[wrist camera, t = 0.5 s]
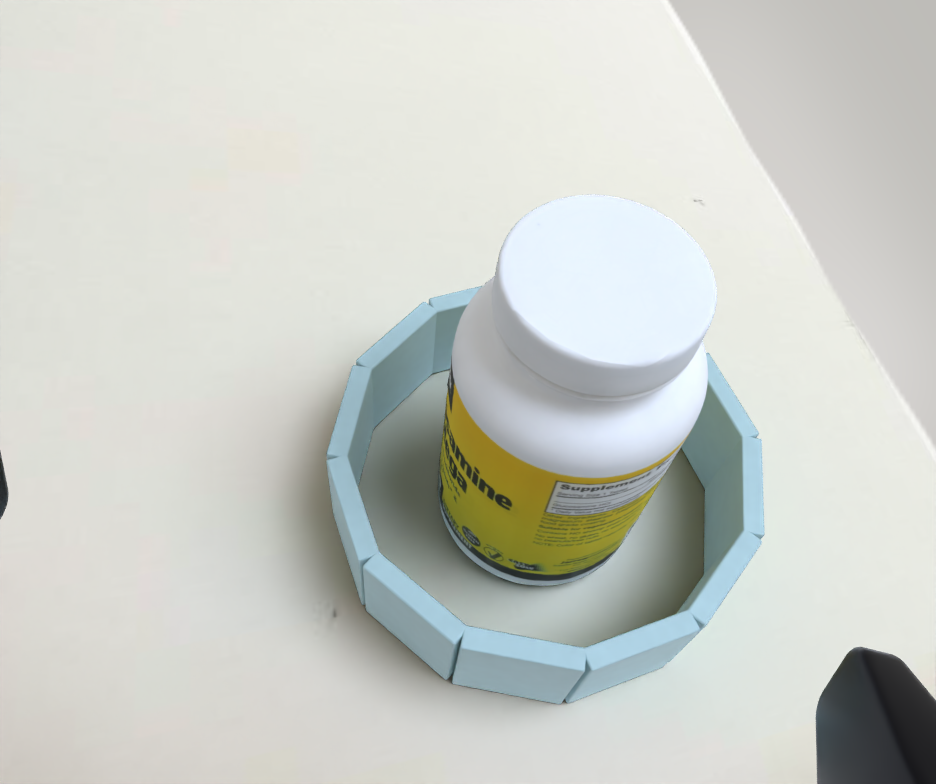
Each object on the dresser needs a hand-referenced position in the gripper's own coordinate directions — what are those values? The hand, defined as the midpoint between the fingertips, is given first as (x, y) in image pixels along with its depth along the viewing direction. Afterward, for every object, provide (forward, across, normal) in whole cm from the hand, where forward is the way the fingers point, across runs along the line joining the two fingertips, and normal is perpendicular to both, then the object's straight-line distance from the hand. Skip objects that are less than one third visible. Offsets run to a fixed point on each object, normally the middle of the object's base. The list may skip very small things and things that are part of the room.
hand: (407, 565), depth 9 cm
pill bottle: (+15, -2, +11) cm, 19 cm away
